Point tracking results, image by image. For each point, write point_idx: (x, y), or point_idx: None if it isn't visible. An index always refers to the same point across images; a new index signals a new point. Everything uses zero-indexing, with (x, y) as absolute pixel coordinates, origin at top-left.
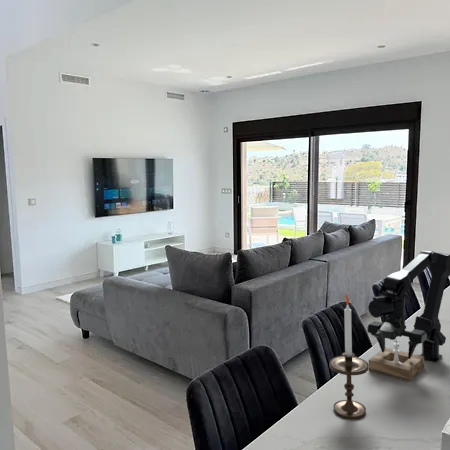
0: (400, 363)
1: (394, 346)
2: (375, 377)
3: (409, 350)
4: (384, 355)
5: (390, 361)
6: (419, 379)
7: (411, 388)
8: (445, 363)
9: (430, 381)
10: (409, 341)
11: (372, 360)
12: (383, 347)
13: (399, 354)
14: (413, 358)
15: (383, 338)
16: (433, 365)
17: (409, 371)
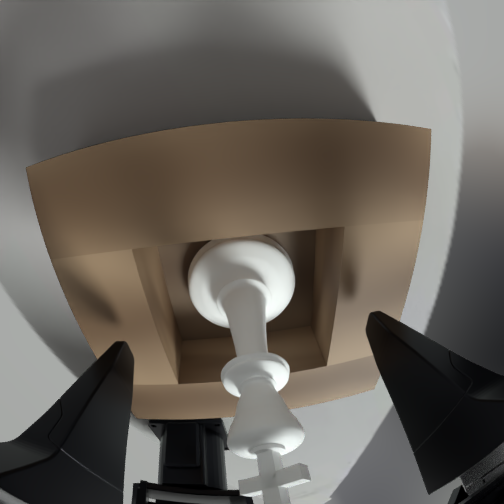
0: (216, 307)
1: (273, 409)
2: (291, 45)
3: (78, 403)
4: (350, 300)
5: (252, 221)
6: None
7: (37, 89)
8: None
9: (27, 252)
10: (15, 496)
11: (402, 130)
12: (390, 350)
13: None
14: (151, 380)
15: (427, 429)
16: None
17: (31, 167)
